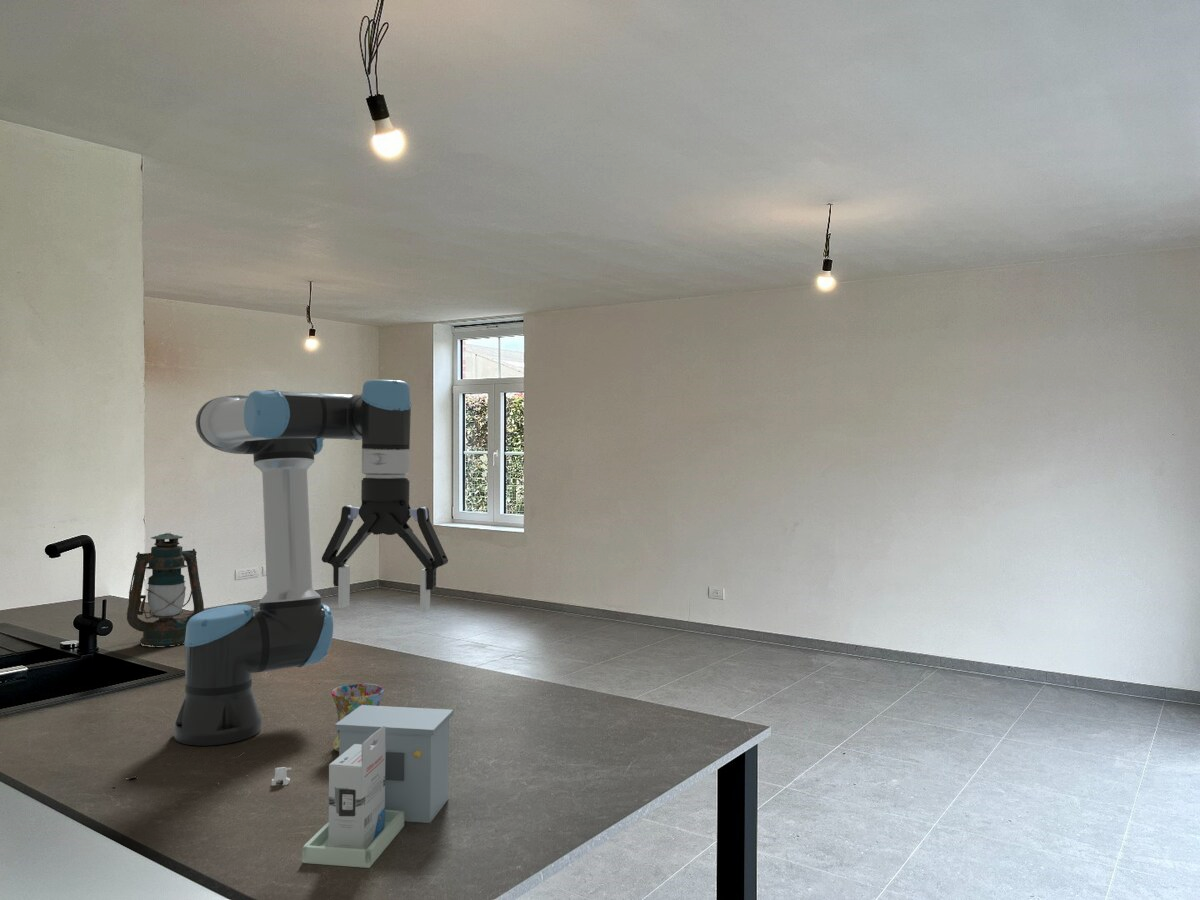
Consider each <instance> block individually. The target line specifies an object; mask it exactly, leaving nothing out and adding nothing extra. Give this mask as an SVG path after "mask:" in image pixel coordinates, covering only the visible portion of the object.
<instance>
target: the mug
mask: <svg viewBox="0 0 1200 900" xmlns="http://www.w3.org/2000/svg"><path fill="white" fill-rule="evenodd" d="M384 693H385V688H384V686H382V685H379V684H374V683H351V684H344V685H340V686H338V687H335V688H333V689H332V690H331V692H330V694H331V697H332V698H333V702H334V704H335V707H336V711H337V712H336V713H337V718H338V719H337V720H338V721H337V722H339V721H340V720H342V719H343V718H344V717H346V716H347V715H348V714H350V713H351V712H353V711H354V710H355V709H357V708H358V707H359V706H361V705H371V706H380V704H381V701H382V697H383V695H384ZM332 744H333V745H332V748H333V749H334V750H335V751H337V752H339V730H337V732H336V737H335V739H334V742H333V743H332Z"/></svg>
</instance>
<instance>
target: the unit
mask: <svg viewBox="0 0 1200 900" xmlns="http://www.w3.org/2000/svg"><path fill="white" fill-rule="evenodd" d="M453 716H454V709H448V708H446V709H445V708H430V707H429V708H428V707H427V708H423V707H408V706H406V707H405V706H387V705H379V706H371V705H361V706H359V707H358V708H357V709H355V710H354V711H353V712H351V713H350V714H348V715H347V716H346V717H344V718H343V719H342V720H340V721H339V722H338V721H337V722H336V723H335V724H334V730H335V731H338V730H339V751H338V757H339V756H340V755H342V754H343V753H344V752H345V751H347V750H348V749H349V748H350V747H351V746H353V745H354V744H362V743H363V742H364V741H366V740H367V739H368V738H369V737H370V736H371V735H372V734H374V733H375V732H376V731H377V730H379V729H380V728H381V727H382V726H385V747H386V754H385V810H396V811H404V822H409V823H424V824H431V823H432V821H433V820H434V819H435V817H436V816H437V815H438V813H439V812H440V811H441V810H442V808H443V807H444V805H445V804H446V803H447V802H448V800H449V790H450V789H449V788H450V786H449V785H450V782H449V780H450V777H449V776H450V773H449V771H450V767H449V765H450V719H451V718H452V717H453ZM376 744H377V740H376V741H375V740H374V741H373V743H372V744H371V745H376Z"/></svg>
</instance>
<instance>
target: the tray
mask: <svg viewBox="0 0 1200 900" xmlns="http://www.w3.org/2000/svg"><path fill="white" fill-rule="evenodd" d="M404 827H405V821H404V811H396V810H385V825H384V828H383V829H382V830H381V831H380V833H379V834H378V835H377V836H376V837H375V838H374V839H373V841H372V842H371V843H370V844H369V845H368V846H367V847H366V849H353V848H340V847H328V845H329V844H328V837H329V834H328V832H329V821H328V822H326V824H324V825H323V826H322V827H321V828H320V829H319V830H318V831H317V832H316V833H315V834H314V835H313V836H312V837H311V838H310V839H309V840H308V841H307V842H306V843H305V844H304V845H303V846H302V848H301V850H302V853H301V855H302V857H301V858H302V859H301V860H302V862H301V863H302V864H312V865H313V864H314V865H324V866H325V865H328V866H336V867H338V866H339V867H340V866H341V867H350V868H352V867H354V868H367V869H370V868H371V866H372V865H373V864H374V863H375V862H376V860H378V858H379V857H380V856H381V855H382V853H383V852H384V851H385V850H386V848H387V847H388V846H389V845H390V844H391V842H392V841H393V840H394V838H395V837H396V836H397V835H398V834H399V833H400V832H401V830H402V829H403V828H404Z"/></svg>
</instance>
